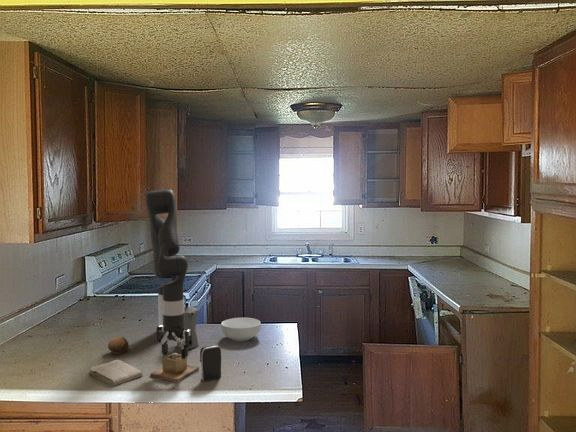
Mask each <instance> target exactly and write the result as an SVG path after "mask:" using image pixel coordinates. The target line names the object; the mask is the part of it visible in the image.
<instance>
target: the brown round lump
mask: <svg viewBox="0 0 576 432" xmlns="http://www.w3.org/2000/svg"><path fill="white" fill-rule="evenodd" d="M107 348H108V350H109V351H110V352H111V353H113V354H115V355H122V354H124V353H127V351H128V349H129V341H128V339H126V338H125V337H123V336H116V337H112V339H110V340H109V341H108V344H107Z"/></svg>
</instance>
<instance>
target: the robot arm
mask: <svg viewBox="0 0 576 432" xmlns="http://www.w3.org/2000/svg"><path fill="white" fill-rule="evenodd" d="M176 200H177V199H176V196H175V192H174V191H173V190H172V189H158V190H150V191H147V193H146V195H145V204H146V210H147V214H148V221H149V227H150V228H149V229H150V240H151V247H152V254H153V272H154V276H155V277H156V278H157V279H161V280H163V279H171V280H170V281H168V282H165V283H164V284H162V285H160V286H158V289H157V299H158V300H157V301H158V302H157V305H158V307H157V308H158V326H157V327H156V343H157V344H160V346H161V354H162V355H163V356H165V357H166V356H168V355H169V344H168V342H169V341H174V342H176V343H178V344H179V345H180V346H181V348H182V349H180V351H181V353H180V354H181V359H185V358H187V359H188V355H189V354H188V353H189V349H188V348H189V347H191V346H192V331H191V329H190V330H184V323H185V317H184V306H185V302H184V286H185V278H186V274H187V271H188V268H189V262H188V259H187V258H186V257H185V255H180V254H179V255H178V253H179V252H180V250H181V249H180V243H179V242H180V241H179V237H178V217H177V216H178V215H177V203H176ZM162 214H167V217H166V219H165V220H164V219H163V218H162V217H161V216H159V215H162ZM183 334H184V335H183ZM181 338H182V340H180V339H181ZM182 342H183V343H182Z"/></svg>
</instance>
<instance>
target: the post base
mask: <svg viewBox="0 0 576 432" xmlns="http://www.w3.org/2000/svg"><path fill="white" fill-rule="evenodd" d="M171 354H172V359H177V358H178V357H177V354H178V353H177V352H172V353H171ZM199 370H200V368H199V367H198V366H194V365H190V364H189V365H188V364H187V369H186V370H184V371H182V372H181V373H179V374H177V375H175V374H170V373H166V372H163V366H162V367H160V368H158V369H156V370H154V371H152V372H151V373H150V377H152V378H157V379H161V380H166V381H170V382H174V383H179V382H181V381H182V380H185V379H186V378H187V377H190V376H191V375H193V374H195V373H196V372H198V371H199Z"/></svg>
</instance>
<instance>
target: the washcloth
mask: <svg viewBox="0 0 576 432" xmlns="http://www.w3.org/2000/svg"><path fill="white" fill-rule="evenodd" d="M88 372H89V373H90V374H91V375H92V376H93V377H95V378H96V379H99V380H100V381H102V382H104V383H106V384H108V385H110V386H118V385H121V384H123V383H126V382H129V381H133V380H135V379H139V378H140V377H143V375H144V374H143V372H142V370H141V369H139V368H137V367H134V366H132V365H130V364H128V363H125V362H124V361H122V360H121V359H114V360H112V361H109V362H107V363H100V364H97V365H94V366H91V367H90V370H89V371H88ZM132 379H133V380H132Z"/></svg>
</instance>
